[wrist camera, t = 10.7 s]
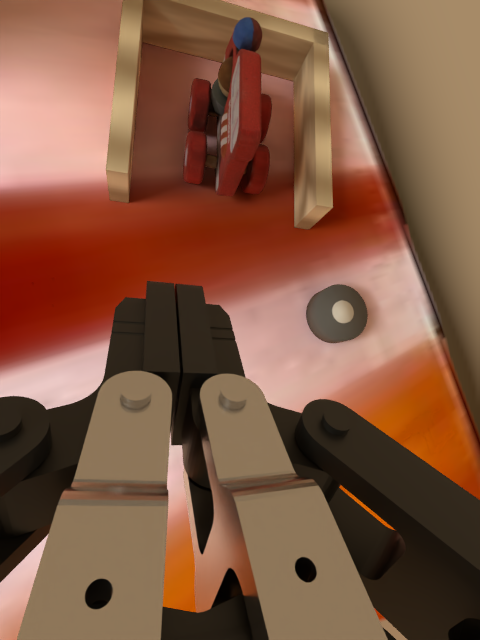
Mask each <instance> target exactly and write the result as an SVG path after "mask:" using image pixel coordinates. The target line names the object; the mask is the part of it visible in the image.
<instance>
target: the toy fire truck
mask: <svg viewBox="0 0 480 640" xmlns="http://www.w3.org/2000/svg"><path fill="white" fill-rule="evenodd" d="M261 41H262V29H261V26H260V24H259V23H258V22H257V21H256V20H255V19H254V18H251V17H245V18H242V19H241V20H239V22H238V23H237V24H236V26H235V28H234V31H233V34H232V36H231V39H230V41H229V43H228V46H227V48H226V52H225V57H224V61H223V63H222V65H221V67H220V69H219V73H218V79H217V80H216V81H215V82H214V84H213V87H212V89H211V84H210V82H209V81H207V80H202V79H197V78H196V79H194V81H193V83H192V88H191V96H190V104H189V115H188V128H189V130H191V131H189V133H188V135H187V139H186V145H185V154H184V166H183V178H184V181H185V182H187V183H194V184H200V183H201V182H202V180H203V177H204V169H205V167H209V168H215V175H216V193H217V195H225V196H233V195H234V194H235V192H236V190H237V187H238V185H239V183H240V181H241V187H242V190H243V191H244V192H245V193H250V194H259V193H261V191H262V190H263V188H264V186H265V183H266V180H267V176H268V171H269V163H270V154H269V150H268V147H267V146H265V145H262V144H260V143H262V142H263V140H264V138H265V136H266V133H267V130H268V127H269V122H270V118H271V109H272V104H271V98H270V97H269V96H268V95H266V94H261V56H260V55H259V54H258V53H256V51H257V50H258V49H259V47H260V44H261ZM208 115H210V116H214V117H216V116H217V156H213V155H209V154H207V139H206V134H205V133H203V132H204V131H205V129H206V126H207V120H208Z"/></svg>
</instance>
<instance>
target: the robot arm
mask: <svg viewBox="0 0 480 640" xmlns="http://www.w3.org/2000/svg"><path fill="white" fill-rule="evenodd" d="M232 329H233V328H232V325H231V321H230V317H229V315H228V314H227V313H226V312H225V311H224V310H223V309H222V308H221V306H220V305H212V304H206V303H205V297H204V292H203V287H202V286H195V285H184V284H176V285H175V288H174V283H164V282H153V281H147V288H146V299H139V298H127V297H126V298H125V299H124V300H123V301H122V302H121V303H120V304H119V305H118V306H117V307H116V308H115V314H114V320H113V327H112V334H111V339H110V345H109V351H108V357H107V363H106V369H105V375H104V379H103V381H102V383H101V385H100V386H99V387H98V389H97V390H96V391H94V392H93V393H92V394H91V395H89V396H88V397H86V398H84V399H82V400H80V401H78V402H75V403H72V404H69V405H65V406H60V407H56V408H52V409H48V410H46V409H45V407H44V406H43V405H42V404H40V403H39V402H37V401H35V400H33V399H30V398H26V397H19V396H9V397H1V398H0V582H1V581H2V580H3V579H4V578H5V577H6V576H7V575H8V574H9V573H10V572H11V571H12V570H13V569H14V568H15V567H16V566H17V565H18V564H19V563H20V562H21V561H22V560H23V559H24V558H25V557H26V556H27V555H28V554H29V553H30V552H31V551H32V550H33V549H34V548H35V547H36V546H37V545H38V544H39V543H40V542H41V541H42V540H43V539H44V538H45V537H46V536H47V535H48V534H49V535H48V538H47V541H46V545H45V548H44V551H43V555H42V558H41V561H40V564H39V568H38V571H37V574H36V578H35V581H34V584H33V588H32V591H31V594H30V598H29V601H28V604H27V607H26V611H25V614H24V617H23V621H22V624H21V627H20V631H19V634H18V637H17V640H396V639H395V638H394V637H393V636H392V635H391V634H390V633H389V632H388V631H386V630H385V629H384V628H383V627H382V626H381V623H380V621H379V619H378V616H377V614H376V612H375V610H374V608H375V609H376V610H377V611H378V612H379V613H380V614H381V615H383V616H384V617H385V618H386V619H387V620H388V621H389V622H390V623H391V624H392V625H393V626H394V627H395V628H396V629H397V630H398V631H399V632H400V633H401V634H402V635H403V636H404V637H405V638H407V639H408V640H480V500H479V499H477V498H476V497H474V496H473V495H472V494H470V493H469V492H467V491H466V490H464V489H463V488H462V487H460V486H459V485H457V484H456V483H455V482H453V481H452V480H450V479H449V478H447V477H446V476H445V475H443V474H442V473H440V472H439V471H437V470H436V469H435V468H433V467H432V466H430V465H429V464H428V463H426V462H425V461H423V460H422V459H420V458H419V457H418V456H416V455H415V454H413V453H412V452H411V451H409V450H408V449H406V448H405V447H403V446H402V445H401V444H399V443H398V442H396V441H395V440H394V439H392V438H391V437H389V436H388V435H386V434H385V433H384V432H382V431H381V430H379V429H378V428H376V427H375V426H374V425H372V424H371V423H369V422H368V421H367V420H365V419H364V418H362V417H361V416H359V415H358V414H357V413H355V412H354V411H352V410H351V409H349V408H348V407H346V406H345V405H343V404H341V403H338V402H335V401H332V400H326V399H319V400H314V401H312V402H310V403H308V404H307V405H306V406H305V408H304V410H303V412H302V413H299V412H295V411H292V410H288V409H284V408H281V407H277V406H274V405H272V404H270V403H267V401H266V399H265V396H264V394H263V392H262V391H261V389H260V388H259V387H258V386H257V385H256V384H255V383H254V382H252V381H251V380H249V379H247V378H245V374H244V370H243V366H242V362H241V359H240V355H239V351H238V347H237V343H236V341H235V336H234V332H233V331H232ZM170 432H171V445H182V449H183V463H184V471H183V479H184V486H185V493H186V500H187V507H188V514H189V521H190V528H191V536H192V543H193V550H194V557H195V604H196V612H189V611H183V610H178V609H172V608H167V607H163V589H164V571H165V553H166V535H167V518H168V490H167V473H168V457H169V440H170ZM340 485H342V486H343V487H344V488H345V489H347V490H348V491H349V492H350V493H352V494H353V495H354V496H355V497H356V498H358V499H359V500H360V501H361V502H362V503H364V504H365V505H366V506H367V507H369V508H370V509H371V510H372V511H373V512H375V513H376V514H377V515H378V516H379V517H381V518H382V519H383V520H384V521H385V522H387V523H388V524H389V525H390V526H392V527H393V528H394V529H395V530H392V529H390V528H388V527H386V526H385V525H383V524H382V523H381V522H380V521H378V520H377V519H376V518H375V517H374V516H372V515H371V514H370V513H369V512H368V511H366V510H365V509H364V508H363V507H362V506H360V505H359V504H358V503H357V502H356V501H354V500H353V499H352V498H351V497H350V496H348V495H347V494H346V493H345V492H343V491H342V490H341V489H340V488H339V487H340Z"/></svg>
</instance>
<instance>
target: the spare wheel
mask: <svg viewBox="0 0 480 640" xmlns="http://www.w3.org/2000/svg"><path fill="white" fill-rule="evenodd" d="M306 317H307V322H308V325H309V327H310V329H311V331H312V332H313V333H314V335H315V336H316V337H318V338H319V339H321V340H322V341H325V342H328V343H338V342H343V341H347V340H351V339H354V338H356V337H357V336H359V335H360V334H361V333H362V331H363V330H364V328H365V326H366V323H367V308H366V305H365V302H364V300H363V299H362V297H361V296H360V295H359V293H358V292H357V291H355V290H354V289H353V288H351V287H349V286H346V285H340V284H338V285H332V286H330V287H328V288H326V289H324V290H322V291H320V292H318V293H317V294H315V295H314V296H313V297H312V298H311V300H310V301H309V303H308V306H307V311H306Z"/></svg>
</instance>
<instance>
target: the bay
mask: <svg viewBox="0 0 480 640" xmlns="http://www.w3.org/2000/svg"><path fill="white" fill-rule="evenodd" d="M245 17H251V18H254V19H255V20H256V21H257V22H258V23H259V24H260V26H261V29H262V41H261V44H260V47H259V49H258V50H257V51H256V53H258V54H259V55H260V56H261V73H264V74H268V75H272V76H276V77H280V78H284V79H287V80H291V81H294V227H296V228H302V229H310V228H311V227H312V226H313V225H314V224H316V223H317V222H318V221H319V220H320V219H321V218H322V217H323V216H324V215H325V214H326V213H328V212H329V211H330V210H331V209H332V208H333V194H332V156H331V119H330V81H329V44H328V33H327V32H323V31H320V30H317V29H313V28H310V27H307V26H304V25H300V24H297V23H294V22H290V21H287V20H284V19H280V18H277V17H274V16H270V15H267V14H264V13H260V12H257V11H254V10H251V9H247V8H244V7H241V6H237V5H234V4H231V3H227V2H224V1H221V0H123V3H122V13H121V23H120V33H119V43H118V53H117V63H116V73H115V83H114V94H113V104H112V114H111V124H110V134H109V144H108V154H107V164H106V174H107V182H108V190H109V197H110V200H113V201H119V202H126V203H129V194H130V182H131V171H132V159H133V147H134V136H135V124H136V112H137V100H138V89H139V77H140V65H141V53H142V42H144V43H148V44H152V45H155V46H159V47H163V48H167V49H171V50H175V51H179V52H183V53H187V54H190V55H194V56H198V57H202V58H206V59H210V60H214V61H218V62H221V63H223V61H224V57H225V52H226V48H227V46H228V43H229V41H230V39H231V36H232V34H233V31H234V28H235V26H236V24H237V23H238V22H239V20H241V19H242V18H245Z"/></svg>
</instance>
